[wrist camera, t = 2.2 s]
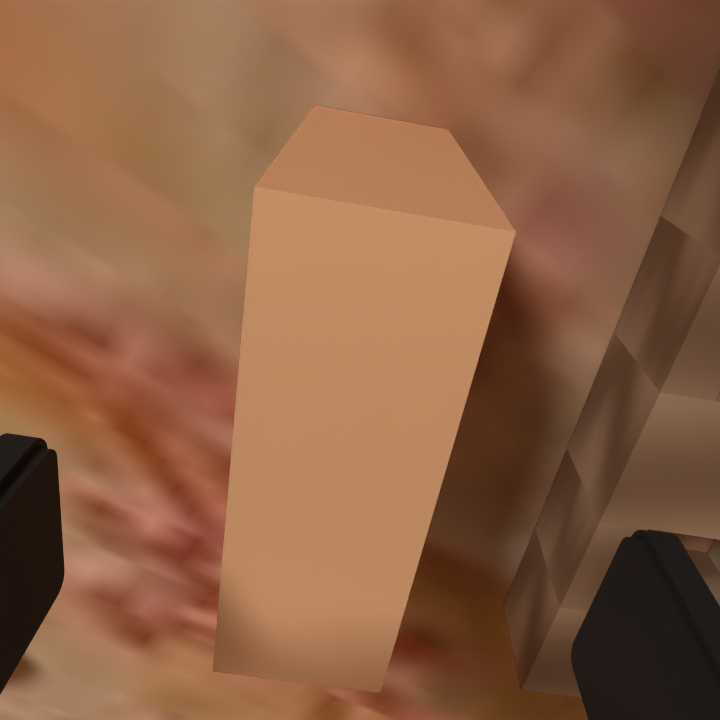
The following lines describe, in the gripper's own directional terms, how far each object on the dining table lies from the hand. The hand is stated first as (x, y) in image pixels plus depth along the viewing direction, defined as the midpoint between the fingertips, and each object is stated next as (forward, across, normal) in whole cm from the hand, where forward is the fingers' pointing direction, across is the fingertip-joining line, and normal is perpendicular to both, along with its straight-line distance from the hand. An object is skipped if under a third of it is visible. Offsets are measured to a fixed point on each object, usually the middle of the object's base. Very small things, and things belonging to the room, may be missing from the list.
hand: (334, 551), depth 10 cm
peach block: (+10, 0, -1) cm, 10 cm away
